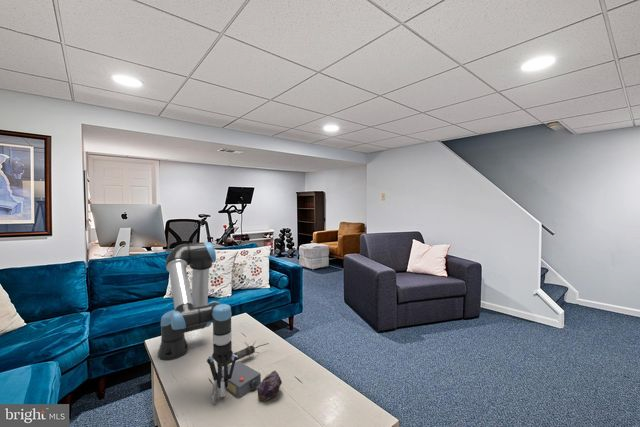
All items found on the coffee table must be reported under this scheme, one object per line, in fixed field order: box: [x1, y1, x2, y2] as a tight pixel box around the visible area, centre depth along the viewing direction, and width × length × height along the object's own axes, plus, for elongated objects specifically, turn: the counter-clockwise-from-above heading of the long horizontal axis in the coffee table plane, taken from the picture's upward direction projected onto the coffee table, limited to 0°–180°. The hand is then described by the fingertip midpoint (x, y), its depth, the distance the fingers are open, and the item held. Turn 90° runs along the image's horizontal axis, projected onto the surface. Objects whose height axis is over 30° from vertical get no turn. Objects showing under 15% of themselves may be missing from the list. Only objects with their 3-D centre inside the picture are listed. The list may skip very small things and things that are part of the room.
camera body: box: [217, 360, 262, 399], centre depth 130 cm, size 19×12×6 cm, turn 53°
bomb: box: [222, 341, 270, 369], centre depth 149 cm, size 11×10×30 cm
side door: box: [211, 380, 218, 405], centre depth 124 cm, size 15×2×5 cm, turn 18°
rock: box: [256, 370, 283, 402], centre depth 123 cm, size 12×9×10 cm
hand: (223, 394), depth 121 cm, fingers closed
